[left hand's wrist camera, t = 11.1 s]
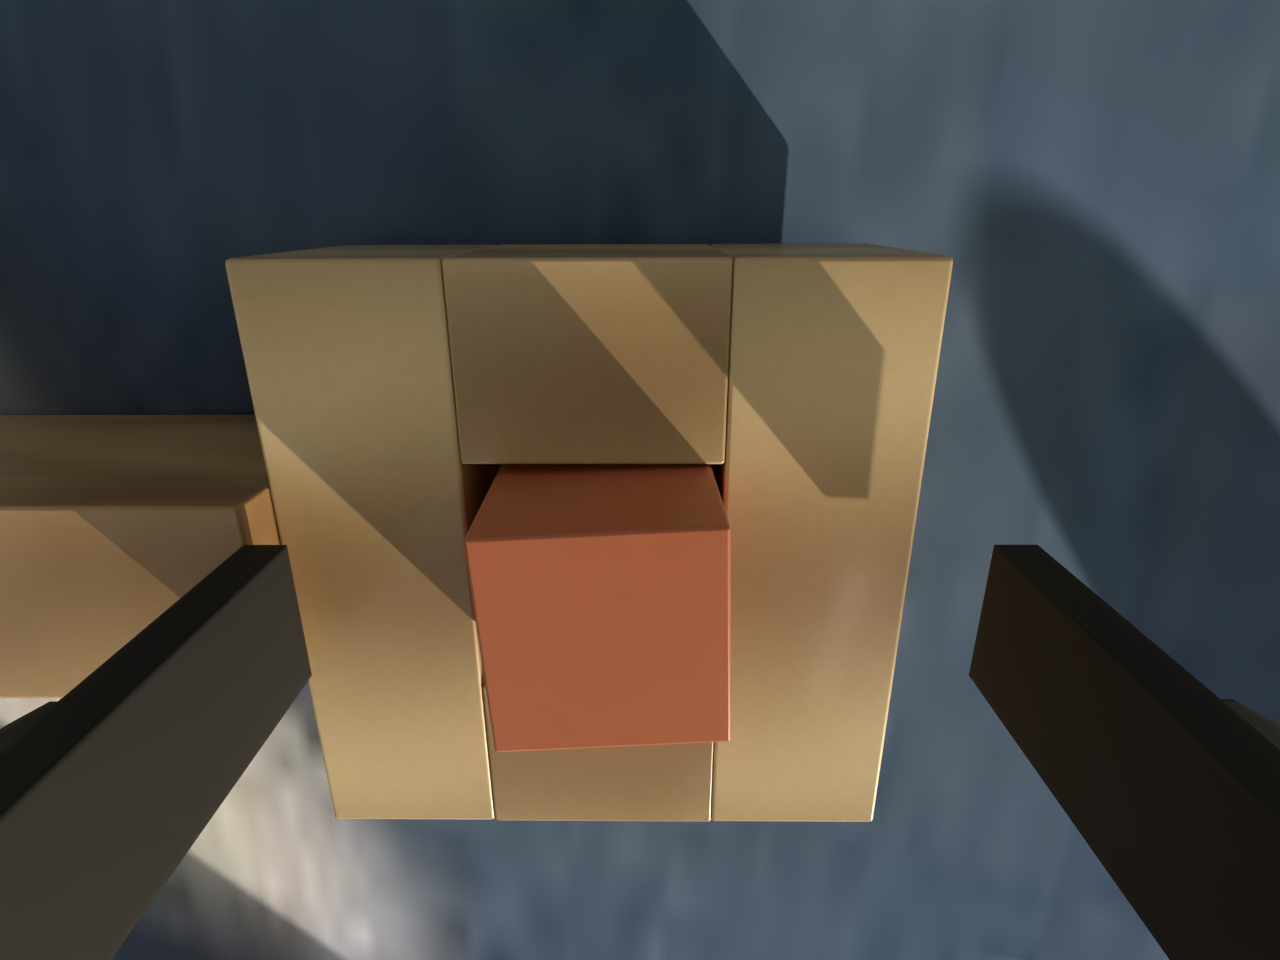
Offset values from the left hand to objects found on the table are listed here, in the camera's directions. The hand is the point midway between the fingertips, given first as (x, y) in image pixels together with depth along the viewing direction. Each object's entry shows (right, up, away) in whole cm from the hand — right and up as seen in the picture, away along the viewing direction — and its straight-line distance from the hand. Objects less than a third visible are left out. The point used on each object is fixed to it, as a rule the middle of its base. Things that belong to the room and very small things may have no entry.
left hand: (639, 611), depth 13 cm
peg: (-1, +3, +6) cm, 6 cm away
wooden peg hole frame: (-8, +2, +6) cm, 10 cm away
